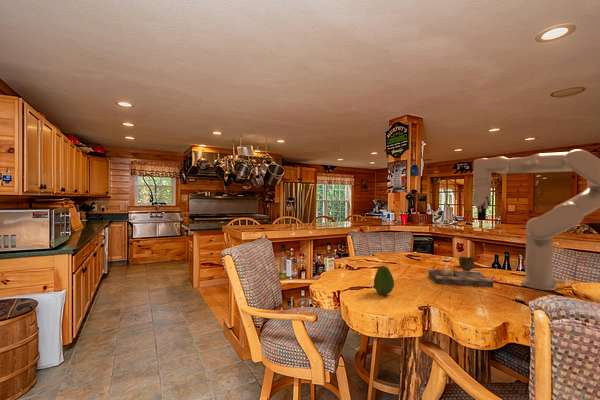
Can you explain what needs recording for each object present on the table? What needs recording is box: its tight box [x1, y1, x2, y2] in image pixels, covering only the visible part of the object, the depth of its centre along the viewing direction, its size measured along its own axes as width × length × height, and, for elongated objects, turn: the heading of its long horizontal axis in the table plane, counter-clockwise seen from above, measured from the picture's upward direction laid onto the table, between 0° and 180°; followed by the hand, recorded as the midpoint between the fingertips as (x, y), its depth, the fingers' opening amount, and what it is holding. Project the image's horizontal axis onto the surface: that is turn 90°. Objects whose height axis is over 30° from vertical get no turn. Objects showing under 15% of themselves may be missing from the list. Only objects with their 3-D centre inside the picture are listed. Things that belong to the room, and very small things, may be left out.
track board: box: [428, 268, 494, 288], centre depth 140 cm, size 24×14×4 cm, turn 80°
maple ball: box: [440, 267, 453, 277], centre depth 141 cm, size 6×6×6 cm
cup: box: [458, 256, 476, 271], centre depth 156 cm, size 8×7×8 cm
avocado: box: [373, 265, 395, 296], centre depth 120 cm, size 8×8×12 cm
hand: (481, 220), depth 145 cm, fingers closed
